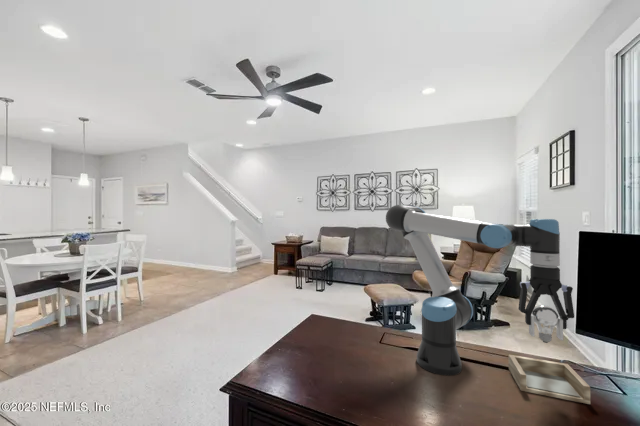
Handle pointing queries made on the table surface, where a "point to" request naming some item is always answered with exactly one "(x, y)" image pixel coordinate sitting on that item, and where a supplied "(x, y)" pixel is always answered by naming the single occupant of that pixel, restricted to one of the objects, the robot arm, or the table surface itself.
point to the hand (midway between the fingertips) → (545, 336)
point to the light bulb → (545, 321)
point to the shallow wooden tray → (548, 379)
